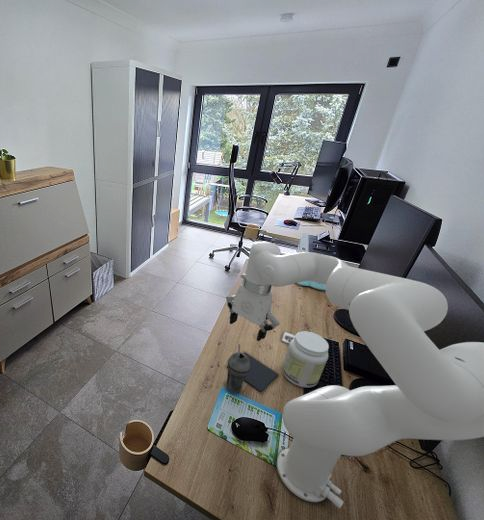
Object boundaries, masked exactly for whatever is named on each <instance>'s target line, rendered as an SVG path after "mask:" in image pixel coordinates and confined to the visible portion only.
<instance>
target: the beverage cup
mask: <svg viewBox="0 0 484 520" xmlns="http://www.w3.org/2000/svg"><path fill="white" fill-rule="evenodd" d="M227 366H228V368H227V376H226V377H227V378H226V389H227V391H228V392H230V393H232V394H239V392H240V391H241V389H242V386H243V384H244V382H245V380H244V379H245V377H246V374H247V373H248V371H249V370H250V361H249V359H248V357H247V356H246V355H245V354H244V352H241V344H240V343H239V344H238V346H237V352H234V353H232V354H231V355H230V356H229V358H228V359H227Z"/></svg>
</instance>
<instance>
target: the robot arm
mask: <svg viewBox="0 0 484 520" xmlns="http://www.w3.org/2000/svg"><path fill="white" fill-rule="evenodd" d="M240 278H241V279H242V282H240V283H239V285H238V287H237V290H236V291H235V294H233V295H231V294H229V295H226V297H225V299H226V304H227V307H228V309H229V310H228V311H229V313H230V314H229V324H230V325H233V324H234V323H236V322H237V321H238V318H239V316H240V317H242V318H243V319H245V320H247V321H249V322H250V323H252V324H254V325H257V326H258V327H259V328H260V329H259V330H258V333H257V335H256V342H260V341H261V340H264V339H266V336H267V334H268V332H269V331H273V330H274V329H276V328H277V327H278V326H279V325H280V324H281V323H280V321H279V320H278V319H277V318H276V317H275V315H273V314H272V313H271V312H272V305H273V291H272V287H275V288H282V287H286V286H290V285H294V284H297V283H299V282H303V281H314V282H317V283H321V284H324V285H326V290H325V296H326V299H327V300H328V302H329V303H331V305H333V306H335V307H339V308H341V309H344V310H346V311H348V314H349V319H350V321H351V323H352V326H353V328H354V330H355V331H356V332H357V334H358V335H359V337H360V338H361V339H362V341H363V343H364V344H365V345H366V347H367V348H368V349H369V351H370V352H371V353H372V354H373V356H374V357H375V359H376V360H377V361H378V363H379V364H380V365H381V367H382V368H383V369H384V371H385V372H386V373H387V374H388V376H389V377H390V379H391V380H392V381H393V383H394V384H393V385H392V384H391V385H365V386H360V387H357V388H353V389H348V388H347V387H344V386H341V385H337V384H336V385H335V384H334V385H333V384H332V385H326V386H323V387H322V386H321V387H319V388H317V389H314V390H312V391H309V392H308V393H305V394H303V395H300V396H297V397H295V398H293V399H291V400H289V401H287V403H285V405H284V407H283V410H282V421H283V424H284V428H285V429H286V430H287V432H288V433H289V435H290V436H291V437H292V438H293V439H292V441H291V443H290V446H289V447H288V448H285V449H283V450H282V451H280V453H279V454H278V456H277V460H276V469H277V473H278V476H279V478H280V480H281V481H282V483H283V484H284V485H285V487H286V488H287V489H288V490H289V491H290V492H291V493H292V494H293V495H294V496H296V497H297V498H300V499H301V500H304V501H306V502H309V503H319V502H322V501H324V500H326V499H328V500H329V501H330V502H331V503H332V504H333V505H335V507H337V508H338V509H341V508H342V506H343V504H344V500H342V499H341V498H340V495H341V493H342V489H340V488H339V487H338V486H337V485H335V484H334V483H333V481H332V480H331V477H332V472H333V470H334V468H335V466H336V465H337V462H338V461H339V459H340V457H341V456H347V457H362V456H367V455H370V454H373V453H376V452H377V451H379V450H382V449H383V448H385V447H387V446H389V445H391V444H392V443H395V442H397V441H400V440H407V439H409V440H426V441H427V440H428V441H431V440H432V441H466V440H474V439H479V438H484V342H482V341H481V342H480V341H465V342H458V343H454V344H451V345H448V346H446V347H443V348H441V349H439V348H438V346H436V344H435V343H434V342H433V341H432V340H431V338H430V337H429V336H428V335H427V334H426V333H425V332H426V331H429V330H431V329H433V328H435V327H437V326H438V325H440V324H441V322H443V320H444V319H445V317H446V316H447V314H448V311H449V304H448V300H447V298H446V297H445V295H444V294H443V292H441V291H440V290H439V289H437V288H436V287H434V286H432V285H430V284H428V283H425V282H422V281H419V280H414V279H410V278H405V277H401V276H396V275H391V274H387V273H382V272H377V271H373V270H368V269H364V268H359V267H355V266H351V265H349V264H348V263H346V262H345V261H343V260H342V259H341V258H338V257H336V256H332V255H326V254H323V253H318V252H312V251H298V252H293V253H288V254H287V253H286V254H281V248H280V247H279V246H278V245H277V244H275V243H273V242H268V241H257V242H254V243H253V244H252V245H251V247H250V251H249V256H248V259H247V264H246V269H245V273H241V274H240ZM269 322H270V323H271V324H270V323H269ZM331 490H332V491H333V492H334V493H333V492H332V491H331Z"/></svg>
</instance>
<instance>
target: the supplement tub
mask: <svg viewBox="0 0 484 520" xmlns="http://www.w3.org/2000/svg"><path fill="white" fill-rule="evenodd" d="M294 335H295V337H294V339H292V340H291V342H290V344H288V347H287V350H286V354H285V357H284V360H283V363H282V366H281V369H282V373H283V375H284V377H285V379H287V380H288V381H289V382H290V383H291V384H293V385H295V386H298V387H299V388H307V389H308V388H309V389H310V388H313V387H316V386H317V385H318V384H319V381H320V378H321V376H322V374H323V371H324V369H325V366H326V364H327V361H328V360H329V348H330V346H329V345H330V344H329V342H328V341H327V340H326V339H325V338H324V337H322V336H321V335H319V334H317V333H315V332H312V331H307V330H306V331H305V330H303V331H302V330H301V331H298V332H297V333H296V334H294Z"/></svg>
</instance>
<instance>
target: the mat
mask: <svg viewBox="0 0 484 520" xmlns="http://www.w3.org/2000/svg"><path fill="white" fill-rule="evenodd" d="M243 354H245V355H246V356H247V357H248V359H249V361H250V370H249V371H248V373H247V374H246V377H245V379H244V382H246V383H247V384H249V385H250V386H251V387H253V388H254V389H256V390H257V391H258V392H260V393H261V392H262V391H263V390H264V389H266V387H268V385H270V384H271V383H272V382H273V381H274V379H275V378H277V377H278V375H279V373H277V372H276V371H274V370H273V369H271V368H270V367H268V366H266V365H265V364H264V363H262V362H261V361H260V360H258V359H256V358H255V357H253V356H252V355H250V354H249V353H247V352H243ZM226 368H227V369H228V365H227V366H226Z"/></svg>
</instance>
